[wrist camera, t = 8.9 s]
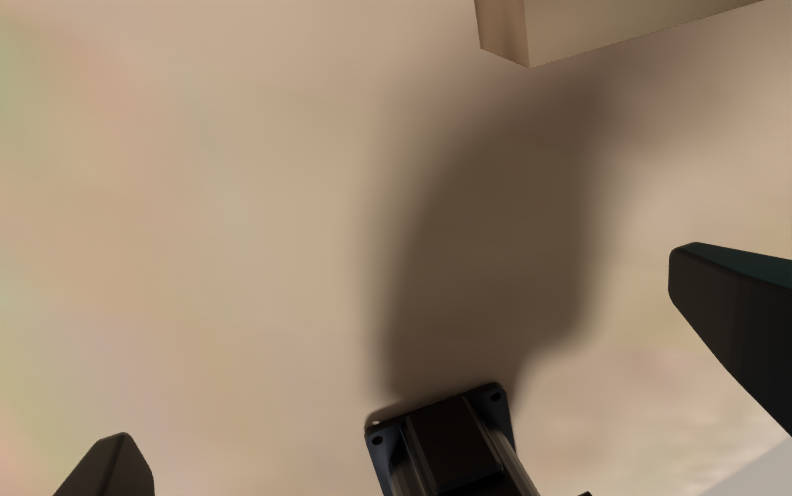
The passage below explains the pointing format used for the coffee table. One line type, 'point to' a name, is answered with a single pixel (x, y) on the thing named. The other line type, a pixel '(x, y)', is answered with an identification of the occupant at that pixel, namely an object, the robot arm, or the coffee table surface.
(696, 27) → the coffee table surface
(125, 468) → the robot arm
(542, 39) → the walnut block
